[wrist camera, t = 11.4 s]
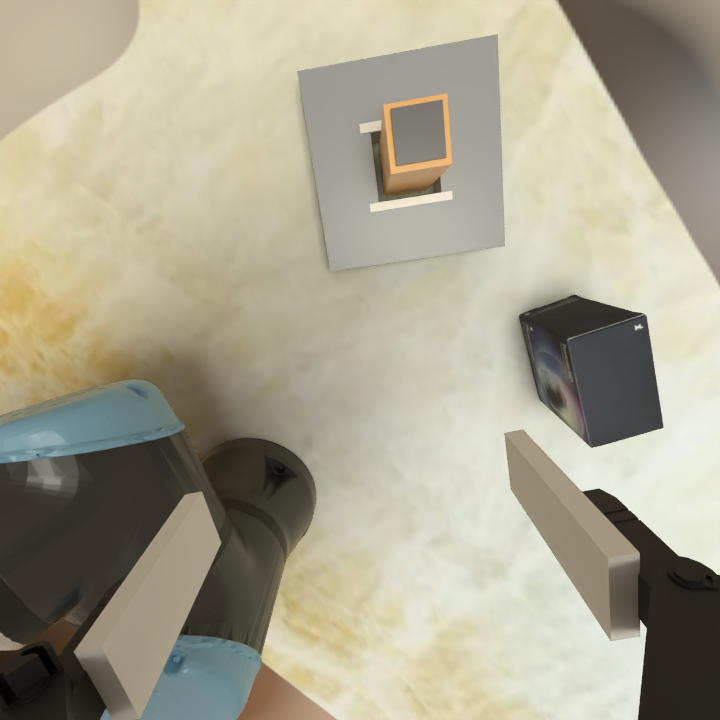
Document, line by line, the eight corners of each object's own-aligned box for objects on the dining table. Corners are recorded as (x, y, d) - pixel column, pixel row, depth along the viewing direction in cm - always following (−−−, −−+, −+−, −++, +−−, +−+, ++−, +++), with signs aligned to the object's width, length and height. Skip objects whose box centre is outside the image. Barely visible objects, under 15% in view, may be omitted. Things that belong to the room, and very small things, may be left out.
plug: (384, 197, 36) (391, 172, 24) (378, 151, 35) (383, 102, 23) (425, 190, 36) (453, 162, 24) (421, 144, 35) (448, 90, 23)
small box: (513, 315, 39) (563, 338, 29) (576, 293, 38) (650, 309, 28) (536, 402, 42) (589, 451, 32) (596, 384, 41) (669, 428, 31)
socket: (333, 269, 38) (329, 272, 34) (304, 88, 34) (296, 69, 30) (492, 246, 37) (505, 245, 33) (484, 56, 33) (498, 32, 29)
